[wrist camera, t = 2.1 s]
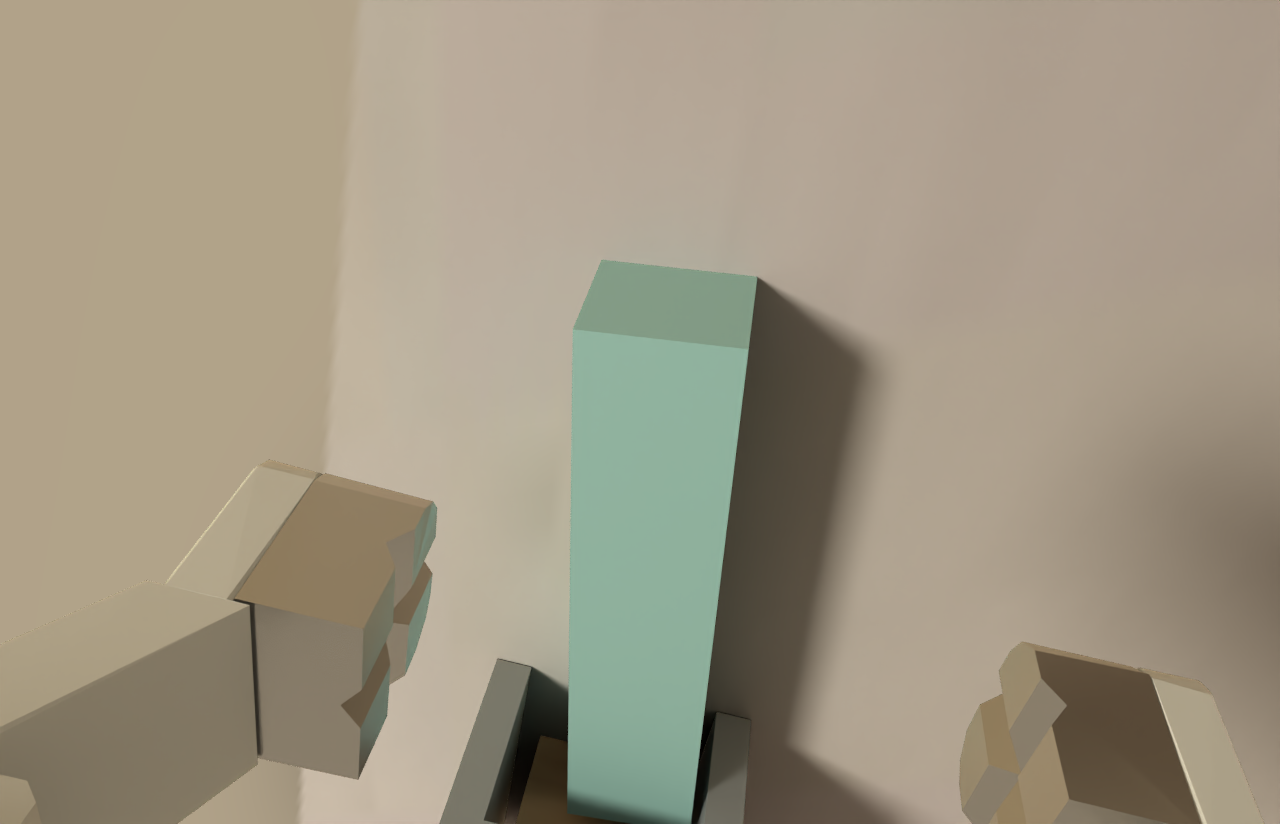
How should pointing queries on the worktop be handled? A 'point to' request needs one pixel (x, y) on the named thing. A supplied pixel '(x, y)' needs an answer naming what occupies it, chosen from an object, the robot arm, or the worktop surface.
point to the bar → (649, 528)
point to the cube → (550, 788)
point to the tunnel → (494, 742)
